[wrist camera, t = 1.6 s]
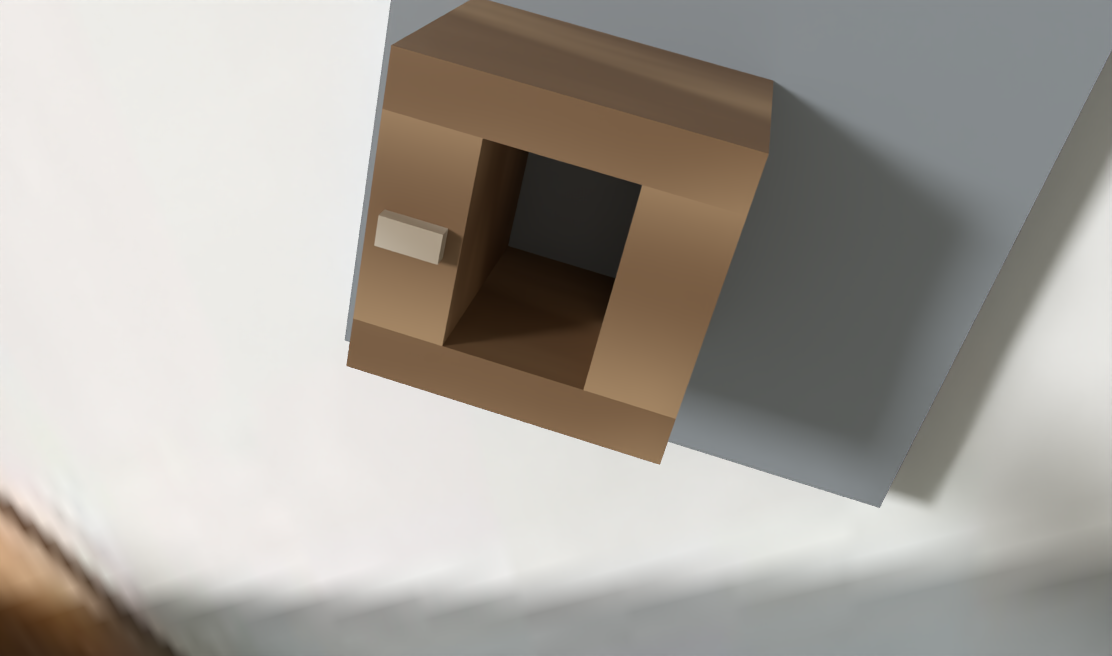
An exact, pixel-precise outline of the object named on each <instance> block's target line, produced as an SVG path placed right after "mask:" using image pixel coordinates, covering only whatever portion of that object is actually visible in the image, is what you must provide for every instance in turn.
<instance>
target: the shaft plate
mask: <svg viewBox="0 0 1112 656" xmlns="http://www.w3.org/2000/svg"><path fill="white" fill-rule="evenodd" d="M467 1H469V0H391V4H390V11H389V19H388V26H387V33H386V41H385V48H384V55H383V63H382V70H381V77H380V85H379V92H378V100H377V107H376V114H375V122H374V129H373V136H372V144H371V151H370V158H369V166H368V173H367V180H366V188H365V195H364V202H363V210H362V217H361V225H360V232H359V239H358V247H357V254H356V261H355V269H354V276H353V283H352V291H351V298H350V305H349V313H348V320H347V327H346V335H345V341H349V342H350V337H351V330H352V323H353V316H354V308H355V301H356V294H357V287H358V280H359V272H360V265H361V258H362V251H363V244H364V237H365V229H366V222H367V215H368V208H369V201H370V193H371V186H372V179H373V172H374V165H375V158H376V150H377V143H378V136H379V129H380V122H381V114H382V107H383V100H384V93H385V86H386V78H387V71H388V64H389V57H390V50H391V45H392V44H394V43H396V42H397V41H399V40H401V39H403V38H404V37H406V36H408V35H410V34H411V33H413V32H415V31H417V30H418V29H420V28H422V27H424V26H425V25H427V24H429V23H431V22H432V21H434V20H436V19H438V18H439V17H441V16H443V15H445V14H446V13H448V12H450V11H452V10H453V9H455V8H457V7H459V6H460V5H462V4H464V3H466V2H467ZM490 1H493V2H497V3H500V4H504V5H507V6H511V7H514V8H518V9H521V10H525V11H529V12H532V13H536V14H539V15H543V16H546V17H550V18H553V19H557V20H560V21H564V22H568V23H571V24H575V25H578V26H582V27H585V28H589V29H592V30H596V31H600V32H603V33H607V34H610V35H614V36H617V37H621V38H624V39H628V40H631V41H635V42H639V43H642V44H646V45H649V46H653V47H656V48H660V49H663V50H667V51H670V52H674V53H678V54H681V55H685V56H688V57H692V58H695V59H699V60H702V61H706V62H709V63H713V64H717V65H720V66H724V67H727V68H731V69H734V70H738V71H741V72H745V73H748V74H752V75H756V76H759V77H763V78H766V79H770V80H773V97H772V113H771V128H770V144H769V155H768V158H767V161H766V163H765V166H764V169H763V172H762V175H761V178H760V180H759V183H758V186H757V189H756V192H755V195H754V198H753V200H752V203H751V206H750V209H749V212H748V215H747V218H746V220H745V223H744V226H743V229H742V232H741V235H740V237H739V240H738V243H737V246H736V249H735V252H734V255H733V257H732V260H731V263H730V266H729V269H728V272H727V274H726V277H725V280H724V283H723V286H722V289H721V292H720V294H719V297H718V300H717V303H716V306H715V309H714V312H713V314H712V317H711V320H710V323H709V326H708V329H707V331H706V334H705V337H704V340H703V343H702V346H701V349H700V351H699V354H698V357H697V360H696V363H695V366H694V369H693V371H692V374H691V377H690V380H689V383H688V386H687V388H686V391H685V394H684V397H683V400H682V403H681V406H680V408H679V411H678V414H677V417H676V420H675V423H674V425H673V428H672V431H671V434H670V437H669V440H668V442H671V443H674V444H677V445H681V446H684V447H687V448H690V449H693V450H697V451H700V452H703V453H706V454H709V455H713V456H716V457H719V458H722V459H725V460H729V461H732V462H735V463H738V464H741V465H745V466H748V467H751V468H754V469H757V470H760V471H764V472H767V473H770V474H773V475H776V476H780V477H783V478H786V479H789V480H792V481H796V482H799V483H802V484H805V485H808V486H812V487H815V488H818V489H821V490H824V491H828V492H831V493H834V494H837V495H840V496H843V497H847V498H850V499H853V500H856V501H859V502H863V503H866V504H869V505H872V506H875V507H879V508H880V506H881V504H882V502H883V500H884V498H885V496H886V494H887V492H888V490H889V488H890V486H891V484H892V482H893V480H894V478H895V476H896V475H897V473H898V471H899V469H900V467H901V465H902V463H903V461H904V459H905V457H906V455H907V453H908V451H909V449H910V447H911V445H912V443H913V441H914V439H915V437H916V435H917V433H918V431H919V429H920V427H921V425H922V423H923V421H924V419H925V417H926V415H927V413H928V411H929V410H930V408H931V406H932V404H933V402H934V400H935V398H936V396H937V394H938V392H939V390H940V388H941V386H942V384H943V382H944V380H945V378H946V376H947V374H948V372H949V370H950V368H951V366H952V364H953V362H954V360H955V358H956V356H957V354H958V352H959V350H960V348H961V346H962V345H963V343H964V341H965V339H966V337H967V335H968V333H969V331H970V329H971V327H972V325H973V323H974V321H975V319H976V317H977V315H978V313H979V311H980V309H981V307H982V305H983V303H984V301H985V299H986V297H987V295H988V293H989V291H990V289H991V287H992V285H993V283H994V281H995V280H996V278H997V276H998V274H999V272H1000V270H1001V268H1002V266H1003V264H1004V262H1005V260H1006V258H1007V256H1008V254H1009V252H1010V250H1011V248H1012V246H1013V244H1014V242H1015V240H1016V238H1017V236H1018V234H1019V232H1020V230H1021V228H1022V226H1023V224H1024V222H1025V220H1026V218H1027V216H1028V215H1029V213H1030V211H1031V209H1032V207H1033V205H1034V203H1035V201H1036V199H1037V197H1038V195H1039V193H1040V191H1041V189H1042V187H1043V185H1044V183H1045V181H1046V179H1047V177H1048V175H1049V173H1050V171H1051V169H1052V167H1053V165H1054V163H1055V161H1056V159H1057V157H1058V155H1059V153H1060V151H1061V150H1062V148H1063V146H1064V144H1065V142H1066V140H1067V138H1068V136H1069V134H1070V132H1071V130H1072V128H1073V126H1074V124H1075V122H1076V120H1077V118H1078V116H1079V114H1080V112H1081V110H1082V108H1083V106H1084V104H1085V102H1086V100H1087V98H1088V96H1089V94H1090V92H1091V90H1092V88H1093V86H1094V84H1095V83H1096V81H1097V79H1098V77H1099V75H1100V73H1101V71H1102V69H1103V67H1104V65H1105V63H1106V61H1107V59H1108V57H1109V55H1110V53H1111V51H1112V0H490ZM641 188H642V185H640V184H637V183H633V182H630V181H627V180H623V179H620V178H616V177H613V176H610V175H606V174H603V173H599V172H596V171H593V170H589V169H586V168H582V167H579V166H575V165H572V164H569V163H565V162H562V161H558V160H555V159H552V158H548V157H545V156H541V155H538V154H535V153H531V152H529V154H528V158H527V163H526V167H525V172H524V176H523V181H522V185H521V190H520V194H519V199H518V203H517V208H516V212H515V217H514V221H513V226H512V230H511V235H510V240H509V244H508V246H510V247H513V248H517V249H520V250H523V251H527V252H530V253H533V254H536V255H540V256H543V257H546V258H550V259H553V260H556V261H560V262H563V263H566V264H570V265H573V266H576V267H580V268H583V269H586V270H590V271H593V272H596V273H599V274H603V275H606V276H609V277H613V278H616V275H617V271H618V268H619V264H620V261H621V257H622V254H623V250H624V247H625V244H626V240H627V237H628V233H629V230H630V226H631V223H632V219H633V216H634V212H635V209H636V205H637V202H638V198H639V195H640V191H641Z"/></svg>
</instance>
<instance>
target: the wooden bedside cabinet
mask: <svg viewBox="0 0 1112 656" xmlns="http://www.w3.org/2000/svg"><path fill="white" fill-rule="evenodd" d="M772 97H773V80H770V79H766V78H763V77H759V76H756V75H752V74H748V73H745V72H741V71H738V70H734V69H731V68H727V67H724V66H720V65H717V64H713V63H709V62H706V61H702V60H699V59H695V58H692V57H688V56H685V55H681V54H678V53H674V52H670V51H667V50H663V49H660V48H656V47H653V46H649V45H646V44H642V43H639V42H635V41H631V40H628V39H624V38H621V37H617V36H614V35H610V34H607V33H603V32H600V31H596V30H592V29H589V28H585V27H582V26H578V25H575V24H571V23H568V22H564V21H560V20H557V19H553V18H550V17H546V16H543V15H539V14H536V13H532V12H529V11H525V10H521V9H518V8H514V7H511V6H507V5H504V4H500V3H497V2H493V1H490V0H469V1H467V2H466V3H464V4H462V5H460V6H459V7H457V8H455V9H453V10H452V11H450V12H448V13H446V14H445V15H443V16H441V17H439V18H438V19H436V20H434V21H432V22H431V23H429V24H427V25H425V26H424V27H422V28H420V29H418V30H417V31H415V32H413V33H411V34H410V35H408V36H406V37H404V38H403V39H401V40H399V41H397V42H396V43H394V44H392V45H391V50H390V57H389V64H388V71H387V78H386V86H385V93H384V100H383V107H382V114H381V122H380V129H379V136H378V143H377V150H376V158H375V165H374V172H373V179H372V186H371V193H370V201H369V208H368V215H367V222H366V229H365V237H364V244H363V251H362V258H361V265H360V272H359V280H358V287H357V294H356V301H355V308H354V316H353V323H352V330H351V337H350V344H349V352H348V359H347V366H348V367H352V368H355V369H358V370H361V371H364V372H368V373H371V374H374V375H377V376H380V377H383V378H387V379H390V380H393V381H396V382H399V383H402V384H406V385H409V386H412V387H415V388H418V389H421V390H425V391H428V392H431V393H434V394H437V395H440V396H444V397H447V398H450V399H453V400H456V401H460V402H463V403H466V404H469V405H472V406H475V407H479V408H482V409H485V410H488V411H491V412H494V413H498V414H501V415H504V416H507V417H510V418H513V419H517V420H520V421H523V422H526V423H529V424H532V425H536V426H539V427H542V428H545V429H548V430H552V431H555V432H558V433H561V434H564V435H567V436H571V437H574V438H577V439H580V440H583V441H586V442H590V443H593V444H596V445H599V446H602V447H605V448H609V449H612V450H615V451H618V452H621V453H624V454H628V455H631V456H634V457H637V458H640V459H643V460H647V461H650V462H653V463H656V464H659V465H660V463H661V460H662V457H663V454H664V451H665V448H666V445H667V443H668V440H669V437H670V434H671V431H672V428H673V425H674V423H675V420H676V417H677V414H678V411H679V408H680V406H681V403H682V400H683V397H684V394H685V391H686V388H687V386H688V383H689V380H690V377H691V374H692V371H693V369H694V366H695V363H696V360H697V357H698V354H699V351H700V349H701V346H702V343H703V340H704V337H705V334H706V331H707V329H708V326H709V323H710V320H711V317H712V314H713V312H714V309H715V306H716V303H717V300H718V297H719V294H720V292H721V289H722V286H723V283H724V280H725V277H726V274H727V272H728V269H729V266H730V263H731V260H732V257H733V255H734V252H735V249H736V246H737V243H738V240H739V237H740V235H741V232H742V229H743V226H744V223H745V220H746V218H747V215H748V212H749V209H750V206H751V203H752V200H753V198H754V195H755V192H756V189H757V186H758V183H759V180H760V178H761V175H762V172H763V169H764V166H765V163H766V161H767V158H768V155H769V144H770V128H771V113H772ZM529 152H531V153H535V154H538V155H541V156H545V157H548V158H552V159H555V160H558V161H562V162H565V163H569V164H572V165H575V166H579V167H582V168H586V169H589V170H593V171H596V172H599V173H603V174H606V175H610V176H613V177H616V178H620V179H623V180H627V181H630V182H633V183H637V184H640V185H642V188H641V191H640V195H639V198H638V202H637V205H636V209H635V212H634V216H633V219H632V223H631V226H630V230H629V233H628V237H627V240H626V244H625V247H624V250H623V254H622V257H621V261H620V264H619V268H618V271H617V275H616V278H613V277H609V276H606V275H603V274H599V273H596V272H593V271H590V270H586V269H583V268H580V267H576V266H573V265H570V264H566V263H563V262H560V261H556V260H553V259H550V258H546V257H543V256H540V255H536V254H533V253H530V252H527V251H523V250H520V249H517V248H513V247H510V246H508V244H509V240H510V235H511V230H512V226H513V221H514V217H515V212H516V208H517V203H518V199H519V194H520V190H521V185H522V181H523V176H524V172H525V167H526V163H527V158H528V154H529Z"/></svg>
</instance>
